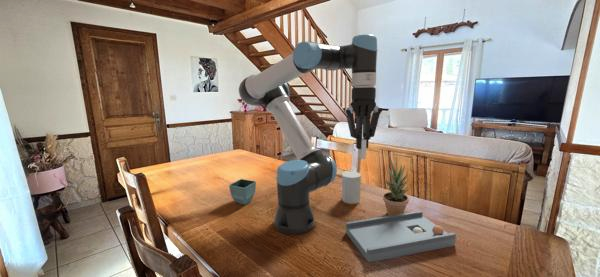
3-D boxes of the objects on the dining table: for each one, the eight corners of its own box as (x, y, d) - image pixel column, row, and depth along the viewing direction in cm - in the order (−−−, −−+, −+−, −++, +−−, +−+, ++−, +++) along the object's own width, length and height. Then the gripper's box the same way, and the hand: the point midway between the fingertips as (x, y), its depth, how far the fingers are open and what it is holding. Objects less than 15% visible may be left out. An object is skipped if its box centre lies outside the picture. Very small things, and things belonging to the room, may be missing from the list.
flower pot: (257, 199, 118) (256, 181, 116) (246, 207, 110) (244, 188, 108) (242, 196, 121) (240, 178, 120) (230, 204, 114) (228, 185, 112)
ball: (424, 228, 84) (425, 237, 84) (418, 224, 87) (419, 232, 88) (416, 231, 83) (417, 240, 84) (410, 226, 86) (411, 235, 87)
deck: (368, 262, 74) (368, 250, 73) (345, 232, 89) (345, 222, 88) (454, 245, 80) (455, 234, 80) (420, 220, 96) (420, 210, 95)
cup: (360, 204, 110) (361, 178, 108) (341, 203, 112) (341, 177, 109) (360, 196, 118) (360, 171, 116) (342, 195, 120) (342, 171, 117)
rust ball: (436, 238, 80) (437, 229, 79) (429, 233, 83) (430, 224, 82) (445, 237, 81) (446, 228, 80) (437, 231, 84) (438, 222, 83)
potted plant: (379, 208, 106) (381, 150, 101) (402, 208, 106) (405, 150, 101) (386, 220, 96) (389, 157, 91) (412, 220, 96) (416, 157, 91)
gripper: (349, 87, 76) (348, 162, 81) (388, 86, 79) (385, 159, 84) (340, 87, 83) (339, 156, 88) (375, 86, 86) (373, 153, 91)
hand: (361, 157), depth 86 cm, fingers closed
